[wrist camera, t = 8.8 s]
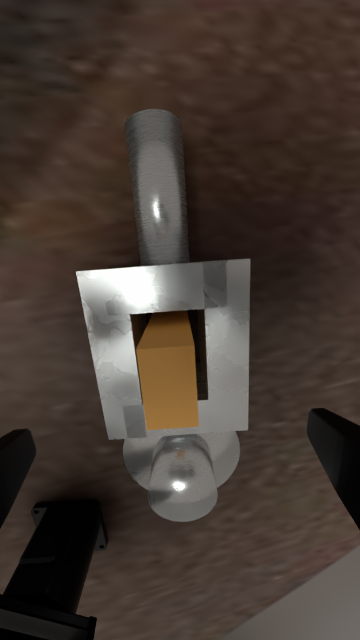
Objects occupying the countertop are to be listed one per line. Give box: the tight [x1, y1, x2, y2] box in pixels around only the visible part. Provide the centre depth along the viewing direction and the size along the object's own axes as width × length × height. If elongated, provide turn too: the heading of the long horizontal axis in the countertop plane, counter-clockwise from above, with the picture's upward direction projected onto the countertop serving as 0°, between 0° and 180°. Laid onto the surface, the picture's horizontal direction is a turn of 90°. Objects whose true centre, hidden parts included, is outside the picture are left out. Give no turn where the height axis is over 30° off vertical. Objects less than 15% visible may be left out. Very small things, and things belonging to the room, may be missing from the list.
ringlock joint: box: [76, 109, 250, 522], centre depth 14 cm, size 26×9×6 cm, turn 4°
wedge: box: [136, 310, 199, 430], centre depth 13 cm, size 4×2×8 cm, turn 4°
